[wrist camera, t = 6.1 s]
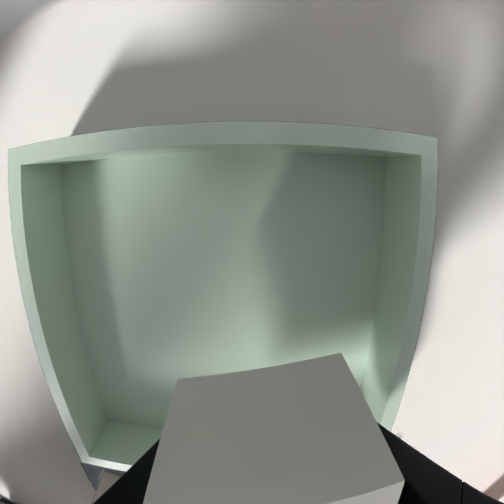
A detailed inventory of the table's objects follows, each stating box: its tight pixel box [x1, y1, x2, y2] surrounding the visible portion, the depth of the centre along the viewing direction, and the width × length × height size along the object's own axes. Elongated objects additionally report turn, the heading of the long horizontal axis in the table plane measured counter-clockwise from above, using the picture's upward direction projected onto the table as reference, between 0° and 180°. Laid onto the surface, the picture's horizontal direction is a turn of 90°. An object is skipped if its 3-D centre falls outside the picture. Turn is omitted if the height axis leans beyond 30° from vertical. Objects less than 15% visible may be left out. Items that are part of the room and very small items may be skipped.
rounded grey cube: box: [143, 353, 405, 504], centre depth 6 cm, size 4×4×4 cm
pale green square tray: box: [8, 121, 438, 471], centre depth 9 cm, size 11×11×3 cm
